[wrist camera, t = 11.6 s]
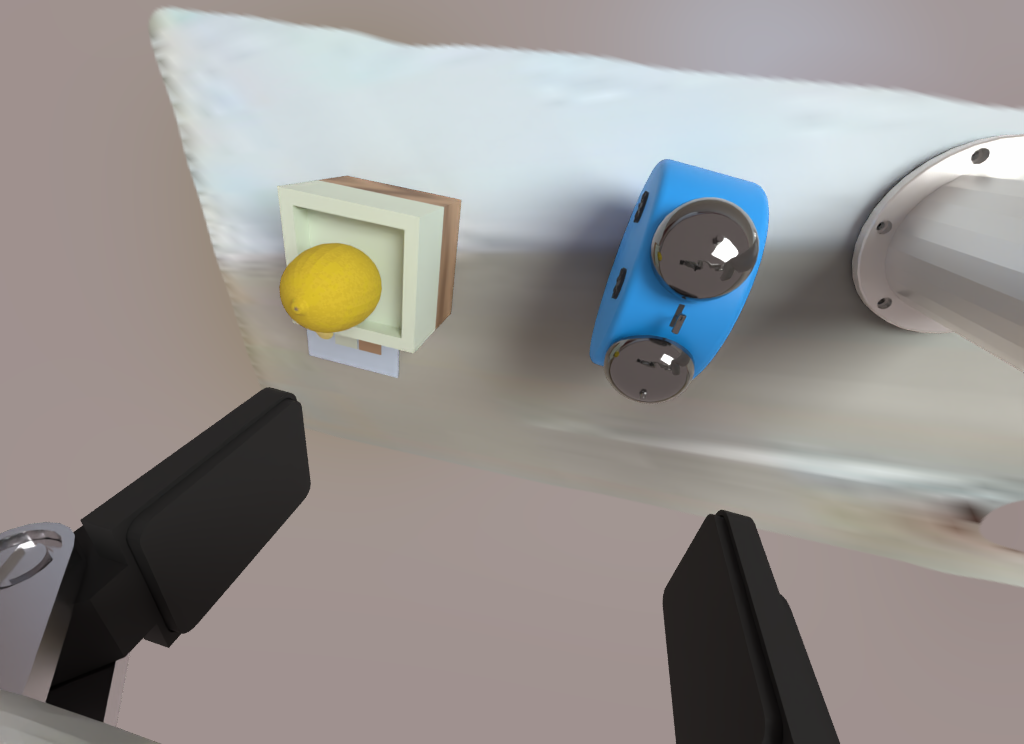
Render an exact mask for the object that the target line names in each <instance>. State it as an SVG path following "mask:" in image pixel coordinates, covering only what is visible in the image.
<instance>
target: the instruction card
mask: <svg viewBox="0 0 1024 744" xmlns="http://www.w3.org/2000/svg"><path fill="white" fill-rule="evenodd" d="M307 337H308V347H309V355H310V356H314V357H318V358H322V359H326V360H330V361H334V362H337V363H341V364H345V365H349V366H353V367H357V368H361V369H364V370H368V371H372V372H376V373H380V374H384V375H388V376H392V377H395V378H398V373H399V350H398V349H394V348H390V347H386V346H382V345H378V344H374V343H370V342H366V341H362V340H358V339H354V338H350V337H346V336H343V335H339V334H335V333H321V332H315V331H312V330H309V329H307Z"/></svg>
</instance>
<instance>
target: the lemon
mask: <svg viewBox="0 0 1024 744" xmlns="http://www.w3.org/2000/svg"><path fill="white" fill-rule="evenodd" d="M381 291H382V284H381V277H380V274H379V271H378V269H377V267H376V265H375V263H374V262H373V261H372V260H371V259H370V258H369V256H367V255H366V254H365V253H364V252H362V251H361V250H359V249H357V248H355V247H353V246H350V245H346V244H341V243H327V244H320V245H317V246H314V247H312V248H310V249H307V250H305V251H304V252H302V253H301V254H299V255H298V256H297V257H296V258H295V259H294V260H293V261H292V262H290V263H289V265H288V266H287V267H286V269H285V271H284V273H283V275H282V277H281V282H280V297H281V301H282V304H283V306H284V308H285V310H286V312H287V313H288V314H289V315H290V317H291V318H292V319H293V320H294V321H296V322H297V323H298V324H300V325H301V326H303V327H305V328H306V329H309V330H312V331H315V332H321V333H333V332H340V331H344V330H347V329H350V328H352V327H354V326H356V325H358V324H360V323H361V322H363V321H364V320H365V319H366V318H367V317H368V316H369V315H370V314H371V313H372V312H373V311H374V310H375V308H376V306H377V304H378V302H379V300H380V297H381Z"/></svg>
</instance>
